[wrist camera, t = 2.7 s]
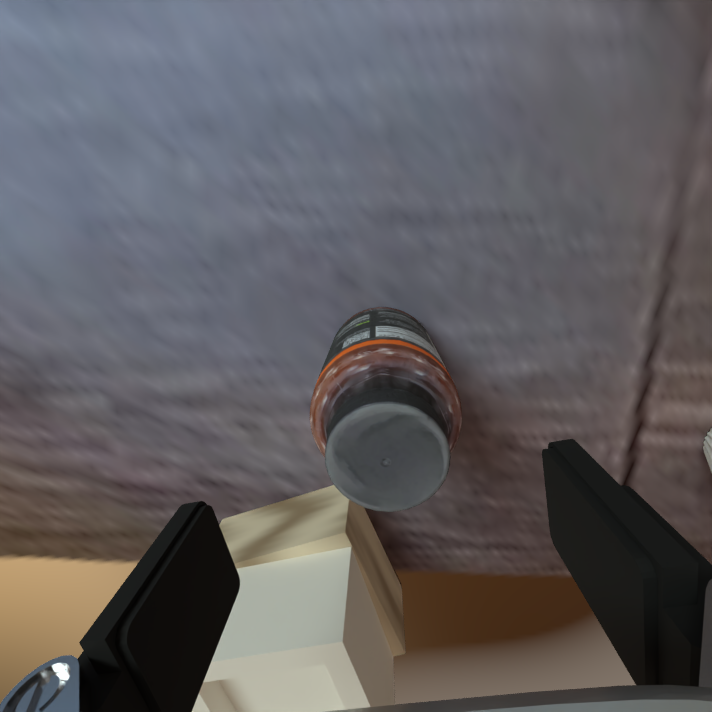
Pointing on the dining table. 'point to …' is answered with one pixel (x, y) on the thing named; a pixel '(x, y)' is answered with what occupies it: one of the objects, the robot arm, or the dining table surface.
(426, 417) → the supplement bottle
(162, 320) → the dining table surface
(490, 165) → the dining table surface
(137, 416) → the dining table surface
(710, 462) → the white cupcake
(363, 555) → the tower base
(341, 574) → the tower top
